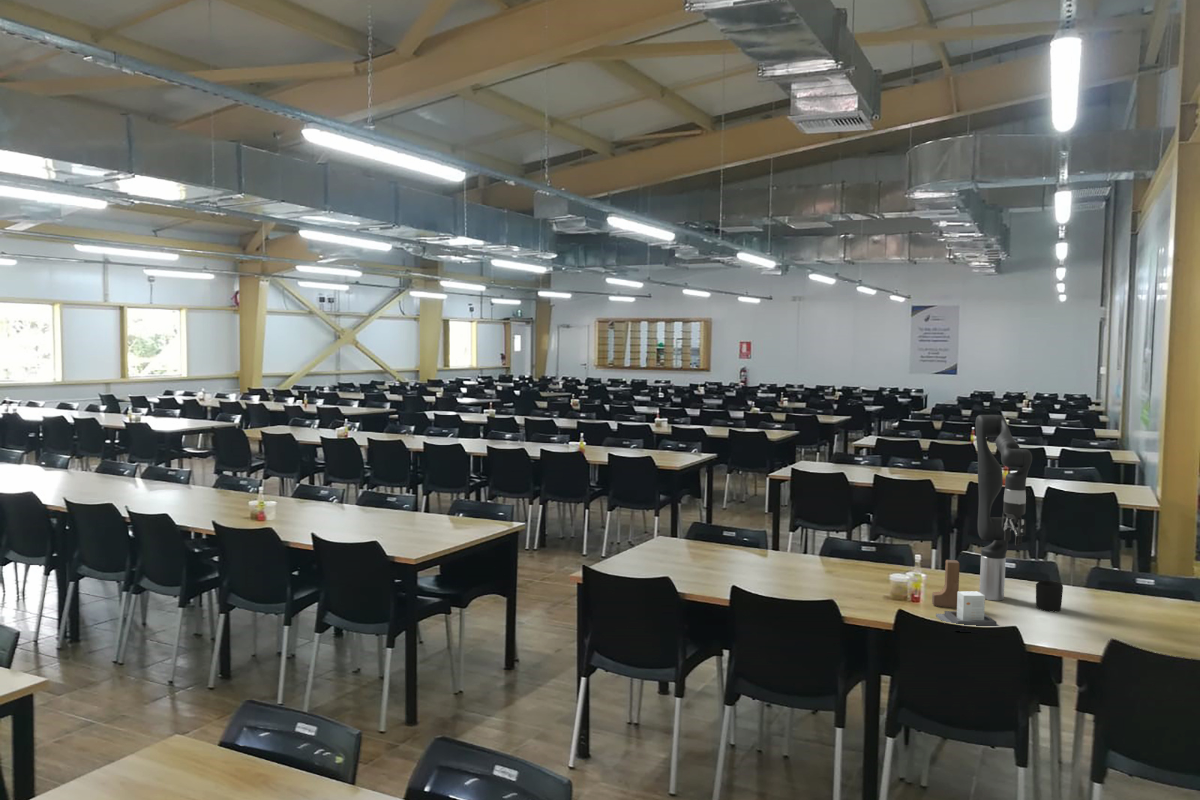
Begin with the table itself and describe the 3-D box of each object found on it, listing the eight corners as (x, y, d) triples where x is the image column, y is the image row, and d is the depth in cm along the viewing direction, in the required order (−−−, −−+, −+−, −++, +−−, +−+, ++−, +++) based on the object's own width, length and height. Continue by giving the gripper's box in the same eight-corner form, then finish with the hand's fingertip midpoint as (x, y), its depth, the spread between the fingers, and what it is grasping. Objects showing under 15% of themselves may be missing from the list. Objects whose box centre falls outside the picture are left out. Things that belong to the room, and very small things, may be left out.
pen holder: (1067, 612, 329) (1068, 586, 329) (1045, 612, 328) (1046, 587, 327) (1051, 604, 339) (1052, 580, 338) (1029, 605, 337) (1030, 580, 337)
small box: (977, 618, 315) (978, 591, 315) (984, 623, 310) (985, 595, 309) (956, 618, 315) (957, 590, 315) (962, 623, 310) (963, 595, 309)
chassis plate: (935, 616, 321) (936, 608, 321) (983, 616, 321) (983, 609, 321) (955, 631, 303) (955, 623, 303) (1005, 632, 303) (1006, 624, 303)
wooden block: (933, 606, 334) (935, 561, 333) (931, 603, 339) (933, 558, 337) (958, 608, 332) (959, 562, 331) (955, 604, 337) (957, 560, 336)
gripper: (996, 497, 328) (994, 539, 329) (1013, 504, 314) (1011, 547, 315) (1015, 498, 328) (1013, 539, 329) (1034, 504, 314) (1032, 547, 315)
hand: (1012, 543), depth 322 cm, fingers open, 8 cm apart
